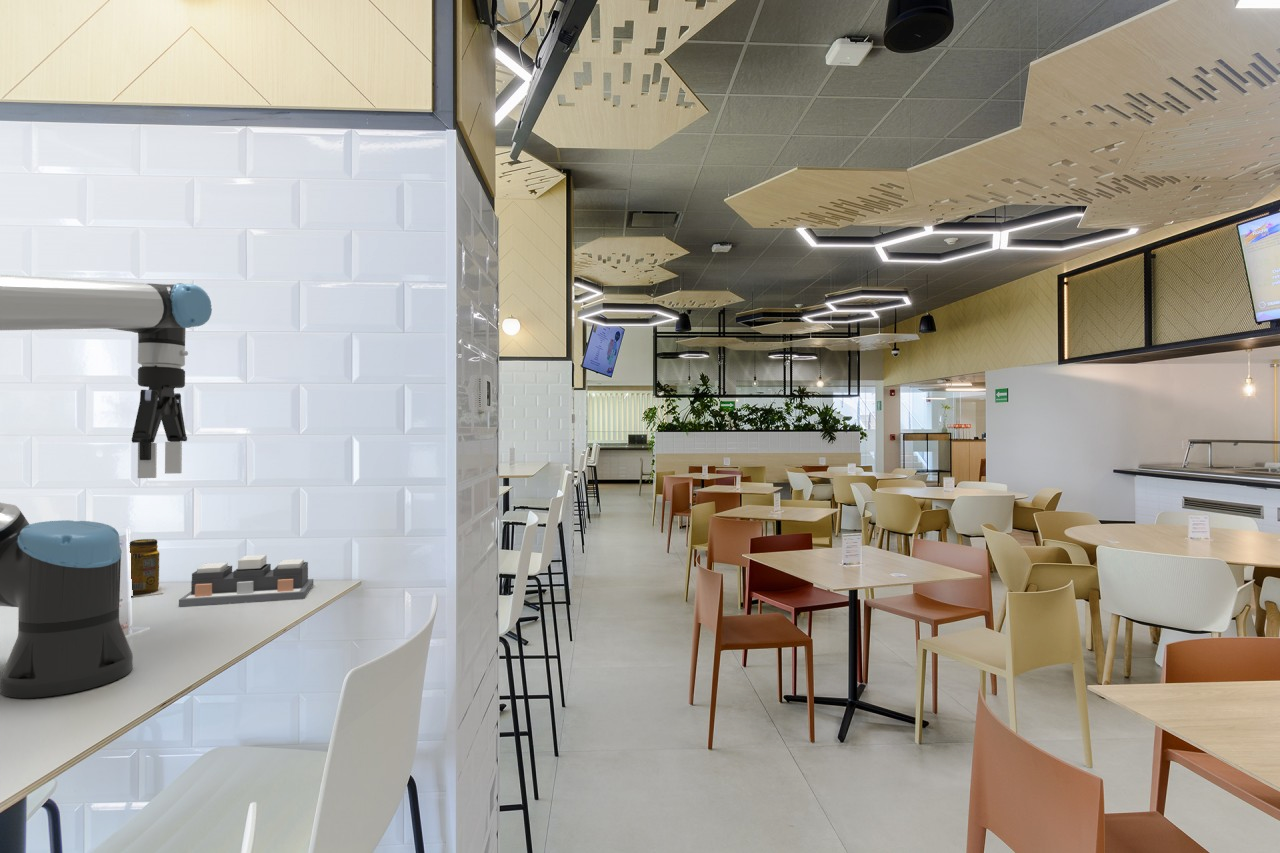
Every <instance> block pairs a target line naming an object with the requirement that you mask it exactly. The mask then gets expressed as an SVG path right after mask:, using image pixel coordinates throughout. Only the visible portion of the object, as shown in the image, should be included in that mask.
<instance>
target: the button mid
mask: <svg viewBox="0 0 1280 853" xmlns="http://www.w3.org/2000/svg"><path fill="white" fill-rule="evenodd" d="M265 564H267V554H255V555H253V554H252V555H244V556H242V557H241V558H239V559H238V560H237V569H257V568H261V567H263V566H264V565H265Z"/></svg>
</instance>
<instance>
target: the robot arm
mask: <svg viewBox="0 0 1280 853" xmlns="http://www.w3.org/2000/svg"><path fill="white" fill-rule="evenodd" d="M212 310H213V308H212V302H211V299H210V296H209V294H208V293H207V292H206V291H205V290H204V288H202V287H200V286H198V285H196V284H192V283H186V284H185V283H182V282H181V283H179V282H178V283H176V284H175V283H173V284H172V283H171V284H165V283H144V282H133V281H132V282H131V281H114V280H113V281H112V280H96V279H95V280H94V279H79V278H76V279H75V278H59V277H43V276H26V275H25V276H24V275H23V276H22V275H11V274H10V275H8V274H0V331H30V330H31V331H34V330H35V331H37V330H38V331H39V330H40V331H41V330H43V331H45V330H92V329H93V330H97V329H102V330H103V329H105V330H106V329H109V330H116V331H123V332H124V331H125V332H130V333H131V332H132V333H133V334H134V333H137V338H138V339H137V342H138V343H137V364H139V365H140V366H139V368H138V369H137V384H138V386H140V387H143V388H148V389H140V393H139V395H140V396H139V402H138V403H139V404H138V408H137V413H136V418H135V422H134V427H133V432H132V437H131V442H132V443H133V444H135V443H137V479H156V478H157V456H158V455H157V454H158V452H157V450H158V448H157V447H158V445H157V444H158V443H157V442H155V440H156V437H157V434H158V430H159V428H160V425H161V423H162V426H163V430H164V432H165V436H166V439H167V441H165V442H164V449H165V450H164V474H166V475H167V474H168V475H169V474H170V475H171V474H183V472H182V471H183V470H182V467H183V466H182V465H183V464H182V462H183V461H182V460H183V459H182V458H183V457H182V456H183V448H182V446H183V442H187V441H188V436H187V434H186V426H185V422H184V421H185V420H184V414H183V406H182V394H181V393H179V392H177V393H176V392H175V389H183V388H184V387H185V386H186V371H185V369H184V368H182V367H184V366H185V365H186V356H188V355H189V351H188V350H186V330H187V329H189V328H193V327H195V328H196V327H201V326H203V325H205V324H206V323H207V322H208V321H209V320H210V318H211V315H212ZM120 544H121V543H120V533H119V532H118V531H117V529H116V528H115V527H113V526H111V525H109V524H105V523H104V522H103V523H102V522H96V521H89V520H70V519H69V520H65V519H64V520H49V521H47V520H46V521H40V522H35V523H29V521H28V520H27V518H26V517H25V515H24V513H23V512H22V511H21V509H20V508H19V507H18V506H17V505H16V504H11V503H10V504H9V503H4V502H0V607H8V608H9V607H10V608H17V609H18V613H17V614H18V618H17V620H18V623H17V624H18V629H17V630H18V631H17V638H16V640H15V642H14V645H13V647H12V648H11V649H12V650H11V652H10V654H9V657H8V659H7V661H6V664H5V667H4V669H3V671H2V674H1V677H0V693H1V694H2V695H3V696H5V697H9V698H17V699H18V698H19V699H29V698H30V699H32V698H33V699H34V698H46V697H53V696H61V695H67V694H71V693H77V692H80V691H81V692H82V691H85V690H89V689H93V688H94V689H95V688H97V687H100V686H103V685H107V684H109V683H112V682H114V681H117V680H119V679H121V678H123V677H126V676H127V675H128V674H130V673H131V672H132V671H133V669H134V666H133V665H134V664H133V662H134V661H133V660H134V657H133V656H134V655H133V651H132V649H131V646H130V645H129V642H128V640H127V637H126V634H125V632H124V630H123V627H122V625H121V623H120V622H121V621H120V602H121V601H120V597H121V593H120V592H121V565H122V564H121V563H122V562H121V560H122V549H121V545H120Z"/></svg>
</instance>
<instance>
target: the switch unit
mask: <svg viewBox="0 0 1280 853" xmlns="http://www.w3.org/2000/svg"><path fill="white" fill-rule="evenodd" d="M190 582H191V587H190V588H191V589H190V590H191V591H189V592H188V593H187V594H185V595H184V596H181V598H179V599H178V608H179V607H180V608H182V607H197V606H198V607H199V606H215V605H227V604H228V605H229V603H231V604H243V602H247V603H257V602H258V603H260V602H274V601H275V602H277V601H290V600H303V599H304V598H305V597H306V596H307V595H308V593H309V592H310V590H311V589H312V588H313V586H314V578H309V562H308V561H304V565H303V566H302V567H301V568H288V569H278V565H276V566H275V568H273V569H272V568H271V563H266V564H265V565H264V566H263V567H261V568H257V569H238V568H236V569H234V571H233V565H228V568H226V569H225V570H224V571H222V572H210V573H197V570H196V571H194V572H192V573H191V581H190Z"/></svg>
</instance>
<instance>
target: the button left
mask: <svg viewBox="0 0 1280 853" xmlns="http://www.w3.org/2000/svg"><path fill="white" fill-rule="evenodd" d="M228 566H229V564H228V562H215V563H214V562H211V563H205V564H202V565H201V566H199V567H197V568H196V571H197V573H210V572H222V571H224V570H225V569H226V568H228Z"/></svg>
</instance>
